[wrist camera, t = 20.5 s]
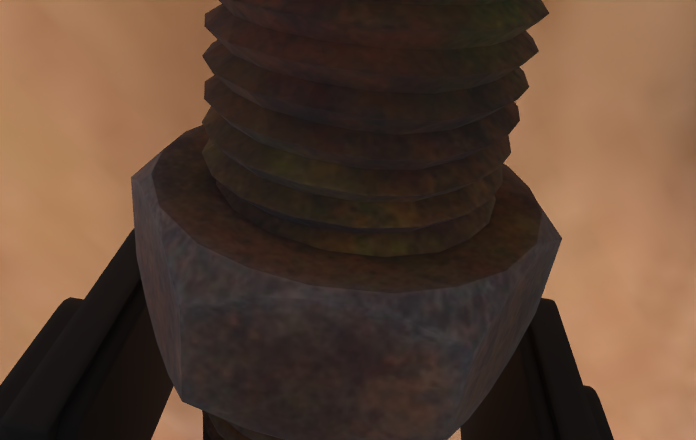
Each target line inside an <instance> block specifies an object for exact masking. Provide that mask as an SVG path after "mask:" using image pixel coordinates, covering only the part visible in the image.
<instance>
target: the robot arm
mask: <svg viewBox="0 0 696 440" xmlns="http://www.w3.org/2000/svg"><path fill="white" fill-rule="evenodd" d="M173 386H174V385H173V383H172V381H171V379H170V377H169V375H168V372H167V369H166V367H165V364H164V361H163V358H162V355H161V353H160V350H159V347H158V344H157V341H156V337H155V333H154V330H153V326H152V322H151V318H150V314H149V311H148V307H147V303H146V299H145V294H144V290H143V285H142V280H141V275H140V270H139V265H138V261H137V256H136V241H135V228H134V229H133V230H132V231H131V233H130V234H129V236H128V237H127V238H126V240H125V241H124V243H123V244H122V246H121V247H120V249H119V250H118V251H117V253H116V254H115V256H114V257H113V259H112V260H111V261H110V263H109V264H108V266H107V267H106V269H105V270H104V272H103V273H102V274H101V276H100V277H99V279H98V280H97V282H96V283H95V285H94V286H93V287H92V289H91V290H90V292H89V293H88V295H87V296H86V298H85V299H84V300H83V299H77V298H71V297H70V298H68V299H66V300H64V301H63V302H62V303H61V305H60V306H59V307H58V308H57V309H56V311H55V312H54V313H53V315H52V316H51V317H50V319H49V320H48V322H47V323H46V324H45V326H44V327H43V328H42V330H41V331H40V332H39V334H38V335H37V336H36V338H35V339H34V340H33V342H32V343H31V345H30V346H29V347H28V349H27V350H26V351H25V353H24V354H23V355H22V357H21V358H20V359H19V361H18V362H17V364H16V365H15V366H14V368H13V369H12V370H11V372H10V373H9V374H8V376H7V377H6V378H5V380H4V381H3V382H2V384H1V385H0V440H151V438H152V436H153V434H154V431H155V429H156V426H157V424H158V422H159V419H160V417H161V415H162V412H163V410H164V407H165V405H166V403H167V400H168V398H169V395H170V393H171V391H172V388H173ZM460 429H461V440H614V439H613V436H612V433H611V430H610V427H609V425H608V422H607V419H606V416H605V413H604V410H603V408H602V405H601V402H600V399H599V397H598V395H597V393H596V391H595V390H594V389H593V388H591V387H590V386H584V385H583V383H582V380H581V377H580V374H579V371H578V368H577V365H576V362H575V359H574V356H573V353H572V350H571V347H570V344H569V341H568V338H567V335H566V332H565V329H564V326H563V323H562V320H561V317H560V314H559V311H558V308H557V305H556V304H555V302H554V301H553V300H550V299H545V298H541V299H540V302H539V305H538V308H537V311H536V313H535V315H534V317H533V319H532V321H531V322H530V324H529V326H528V328H527V330H526V332H525V333H524V335H523V337H522V339H521V341H520V343H519V345H518V346H517V348H516V350H515V352H514V354H513V355H512V357H511V358H510V360H509V362H508V363H507V365H506V366H505V368H504V370H503V371H502V373H501V374H500V376H499V378H498V379H497V381H496V382H495V384H494V386H493V387H492V389H491V390H490V392H489V393H488V394H487V396H486V397H485V398H484V400H483V401H482V402H481V404H480V405H479V406H478V407H477V409H476V410H475V411H474V413H473V414H472V415H471V417H470V418H469V419H468V420H467V421H466V422H465V423H464V424H463V425H462V426H461V427H460Z"/></svg>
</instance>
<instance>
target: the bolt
mask: <svg viewBox="0 0 696 440" xmlns="http://www.w3.org/2000/svg"><path fill="white" fill-rule="evenodd" d="M219 1H220V2H221V3H222V4H221V5H219V6H218V7H216V8H214V9H213V10H211V11H209V12H208V13H206V14H205V27H206V28H207V29H208V30H209V31H210V32H211V33H212V34H213V35H214V36H215V37H216V38H217V39H218V40H217V41H215V42H213V43H212V44H211V45H210V47H209V48H208V49H207V50H206V52H205V53H204V54H203V55H202V56H203V58H204V60H205V61H206V63H207V64H208V66H209V68H210V69H211V71H212V72H213V73H214V74H215V75H214V76H212V77H211V78H210V79H208V80H207V81H205V93H204V99H205V100H206V101H207V102H208V103H209V104H210V105H211V107H210V109H209V111H208V113H207V114H206V116H205V118H204V120H203V121H202V123H203V125H201V126H199V127H196V128H194V129H191V130H189V131H186V132H185V133H183V134H182V135H181V136H180V137H178V138H177V139H176V140H175V141H174V142H172V143H171V144H170V145H169V146H167V147H166V148H165V149H164V150H162V151H161V152H160V153H159V154H158V155H157V156H155V157H154V158H153V159H152V160H151V161H150V162H148V163H147V164H146V165H145V166H144V167H143V168H141V169H140V170H139V171H138V172H137V173H135V174H134V175H133V176H132V177H131V183H132V198H133V212H134V227H135V241H136V256H137V261H138V265H139V270H140V275H141V280H142V285H143V290H144V294H145V299H146V303H147V307H148V311H149V314H150V318H151V322H152V326H153V330H154V333H155V337H156V341H157V344H158V347H159V350H160V353H161V355H162V358H163V361H164V364H165V367H166V369H167V372H168V375H169V377H170V379H171V381H172V383H173V385H174V387H175V389H176V391H177V393H178V394H179V396H180V398H181V400H182V402H185V403H187V404H189V405H192V406H194V407H196V408H199V409H201V410H202V411H203V440H448V439H449V438H450V437H451V436H452V435H453V434H454V433H455V432H456V431H457V430H458V429H459V428H460V427H461V426H462V425H463V424H464V423H465V422H466V421H467V420H468V419H469V418H470V417H471V415H472V414H473V413H474V411H475V410H476V409H477V407H478V406H479V405H480V404H481V402H482V401H483V400H484V398H485V397H486V396H487V394H488V393H489V392H490V390H491V389H492V387H493V386H494V384H495V382H496V381H497V379H498V378H499V376H500V374H501V373H502V371H503V370H504V368H505V366H506V365H507V363H508V362H509V360H510V358H511V357H512V355H513V354H514V352H515V350H516V348H517V346H518V345H519V343H520V341H521V339H522V337H523V335H524V333H525V332H526V330H527V328H528V326H529V324H530V322H531V321H532V319H533V317H534V315H535V313H536V311H537V308H538V305H539V302H540V299H541V297H542V294H543V291H544V288H545V285H546V282H547V280H548V277H549V274H550V271H551V268H552V265H553V263H554V260H555V257H556V254H557V251H558V248H559V246H560V243H561V240H562V238H561V236H560V235H559V233H558V232H557V230H556V229H555V227H554V226H553V224H552V223H551V221H550V220H549V218H548V217H547V215H546V214H545V212H544V211H543V209H542V208H541V206H540V205H539V204H538V202H537V201H536V199H535V197H534V195H533V193H532V191H531V190H530V188H529V187H528V186H527V185H526V184H525V183H524V182H523V181H522V180H521V179H520V178H519V177H518V176H517V175H516V174H515V173H514V172H513V171H512V170H511V169H510V168H509V167H508V166H506V165H505V164H503V163H504V161H505V160H506V159H507V157H508V156H509V155H510V153H511V149H510V143H509V136H508V135H509V133H510V132H511V131H512V130H513V128H514V127H515V126H516V125H517V123H518V122H519V121H520V118H519V111H518V106H517V105H516V104H515V102H514V101H516V100H518V99H519V98H520V96H521V95H522V94H523V93H524V92H525V91H526V90H527V89H528V88H529V85H528V82H527V80H526V77H525V74H524V71H523V70H522V69H521V68H520V66H521V65H523V64H524V63H525V62H526V61H528V60H529V59H530V58H531V57H533V56H534V55H535V54H536V53H537V52H539V51H538V48H537V46H536V44H535V42H534V40H533V38H532V37H531V36H530V35H529V34H528V33H527V31H526V30H527V29H528V28H530V27H531V26H533V25H534V24H536V23H537V22H539V21H540V20H542V19H543V18H544V17H545V16H547V15H548V14H549V12H548V10H547V9H546V7H545V5H544V4H543V2H542V1H541V0H219Z"/></svg>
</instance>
